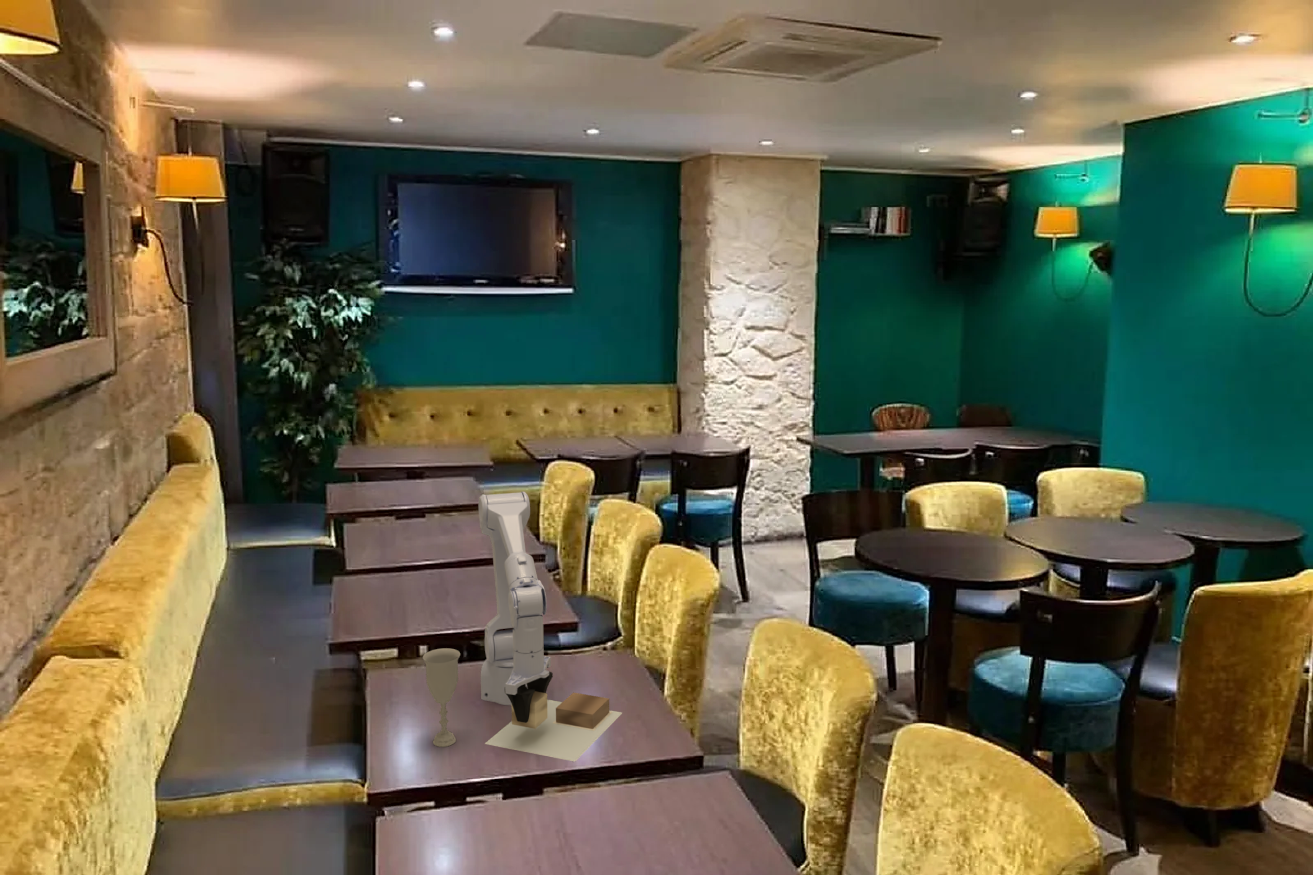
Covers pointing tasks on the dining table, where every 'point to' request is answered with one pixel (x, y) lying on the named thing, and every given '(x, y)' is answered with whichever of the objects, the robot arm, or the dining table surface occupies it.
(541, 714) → the light wooden cube
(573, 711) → the walnut slab
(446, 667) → the chalice
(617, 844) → the dining table surface
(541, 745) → the plain cream board
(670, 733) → the dining table surface
